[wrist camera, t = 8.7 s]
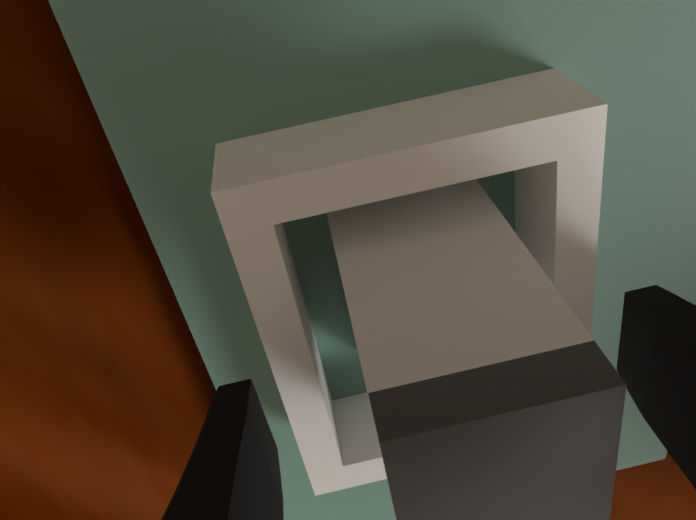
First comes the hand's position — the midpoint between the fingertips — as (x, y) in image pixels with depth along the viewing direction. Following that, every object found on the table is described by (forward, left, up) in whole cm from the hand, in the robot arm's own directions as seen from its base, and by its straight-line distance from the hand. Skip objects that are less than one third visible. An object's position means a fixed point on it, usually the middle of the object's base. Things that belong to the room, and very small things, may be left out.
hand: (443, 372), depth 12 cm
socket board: (0, -1, -3) cm, 4 cm away
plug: (+1, 0, -2) cm, 3 cm away
